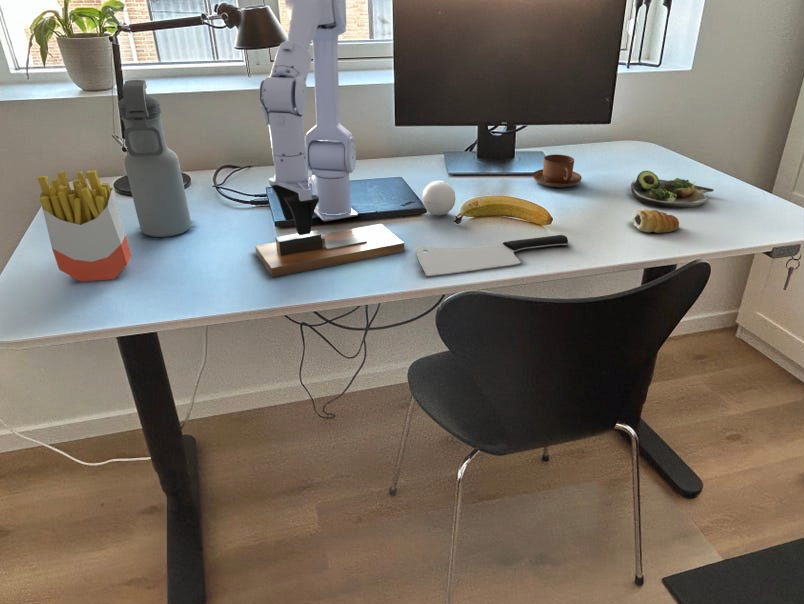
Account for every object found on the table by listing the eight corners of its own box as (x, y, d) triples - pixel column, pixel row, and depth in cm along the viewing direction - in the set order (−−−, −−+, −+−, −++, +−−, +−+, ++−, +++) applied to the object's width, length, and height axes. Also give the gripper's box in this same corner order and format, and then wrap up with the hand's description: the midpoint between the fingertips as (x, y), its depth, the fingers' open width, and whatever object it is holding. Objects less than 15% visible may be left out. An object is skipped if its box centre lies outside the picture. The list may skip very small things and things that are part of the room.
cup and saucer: (590, 186, 163) (594, 161, 160) (554, 194, 158) (557, 168, 154) (558, 173, 172) (560, 149, 168) (522, 180, 166) (524, 156, 162)
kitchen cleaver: (426, 272, 118) (412, 244, 125) (426, 280, 119) (412, 252, 126) (582, 254, 126) (560, 229, 134) (581, 262, 127) (559, 236, 135)
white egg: (447, 206, 149) (448, 174, 145) (460, 218, 143) (461, 184, 139) (405, 211, 146) (405, 179, 142) (417, 223, 140) (417, 190, 136)
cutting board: (256, 254, 125) (254, 245, 124) (381, 231, 136) (381, 223, 135) (272, 277, 117) (271, 268, 116) (404, 251, 128) (404, 242, 127)
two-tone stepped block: (276, 251, 122) (275, 237, 121) (360, 236, 129) (359, 222, 128) (282, 258, 120) (280, 244, 118) (367, 242, 127) (366, 228, 125)
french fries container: (129, 278, 116) (102, 177, 106) (62, 283, 113) (28, 181, 104) (134, 267, 119) (108, 169, 109) (69, 272, 117) (37, 172, 107)
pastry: (671, 222, 144) (675, 205, 142) (683, 234, 138) (687, 217, 136) (629, 222, 143) (632, 205, 141) (639, 234, 138) (643, 217, 136)
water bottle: (191, 236, 132) (161, 88, 116) (139, 241, 129) (100, 90, 114) (192, 218, 140) (164, 77, 124) (143, 222, 137) (108, 79, 122)
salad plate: (703, 186, 165) (707, 167, 163) (723, 211, 150) (728, 191, 148) (625, 182, 166) (628, 164, 164) (638, 207, 151) (641, 188, 149)
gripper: (254, 143, 117) (265, 216, 124) (278, 166, 106) (288, 244, 114) (293, 139, 120) (301, 210, 127) (320, 161, 109) (327, 237, 117)
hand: (297, 226), depth 121 cm, fingers open, 7 cm apart
